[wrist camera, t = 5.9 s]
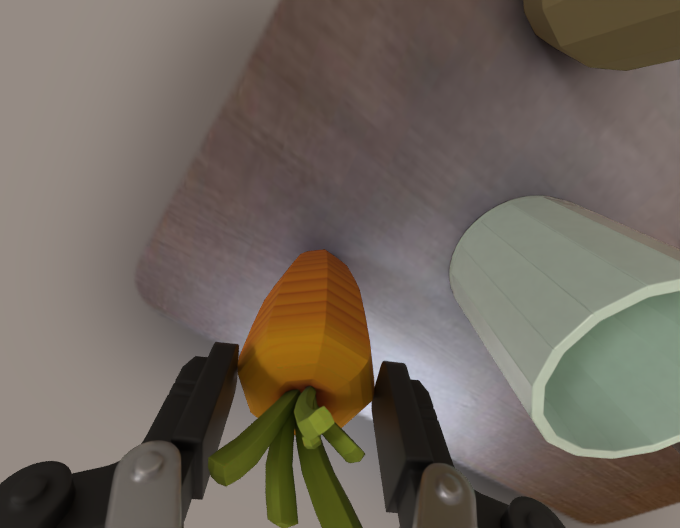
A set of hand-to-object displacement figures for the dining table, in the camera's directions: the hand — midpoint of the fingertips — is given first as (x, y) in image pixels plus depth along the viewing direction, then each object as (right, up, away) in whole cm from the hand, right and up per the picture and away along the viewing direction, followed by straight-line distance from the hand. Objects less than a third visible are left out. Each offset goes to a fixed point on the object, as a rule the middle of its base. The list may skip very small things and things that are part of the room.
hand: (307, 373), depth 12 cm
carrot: (0, +4, +10) cm, 11 cm away
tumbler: (+13, +4, +10) cm, 17 cm away
